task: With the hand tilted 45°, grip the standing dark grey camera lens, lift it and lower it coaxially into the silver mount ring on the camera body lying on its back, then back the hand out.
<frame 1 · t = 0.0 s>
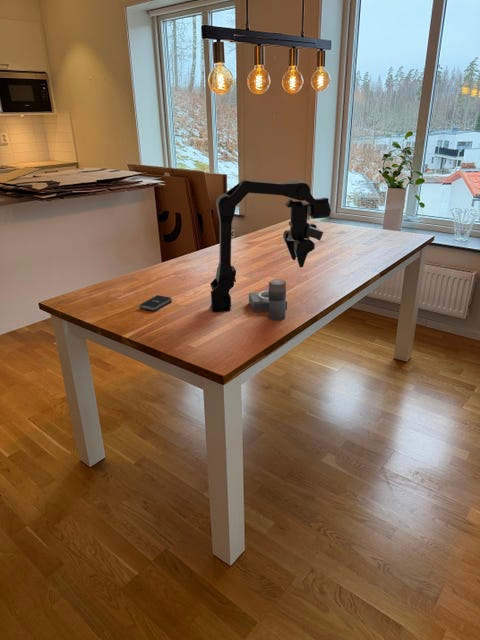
hand: (297, 263, 158), 15 cm above the table, tool pointing down, fingers open, 9 cm apart
camera body: (267, 306, 161), on the table
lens: (277, 317, 152), on the table
external hard drive: (156, 306, 164), on the table
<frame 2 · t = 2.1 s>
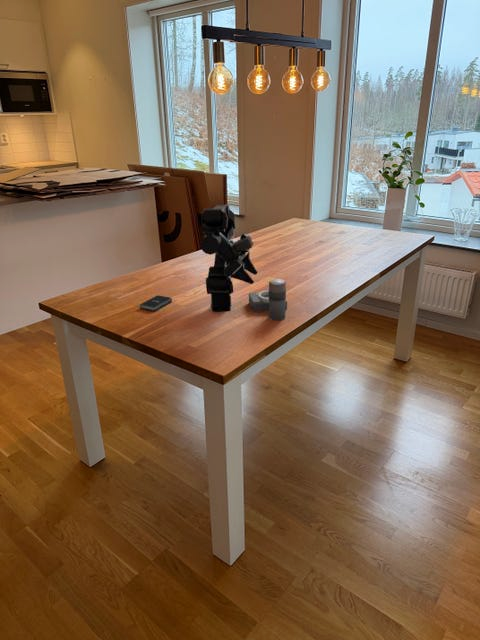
hand: (254, 278, 148), 14 cm above the table, tool tilted 45°, fingers open, 9 cm apart
nothing on the table moved.
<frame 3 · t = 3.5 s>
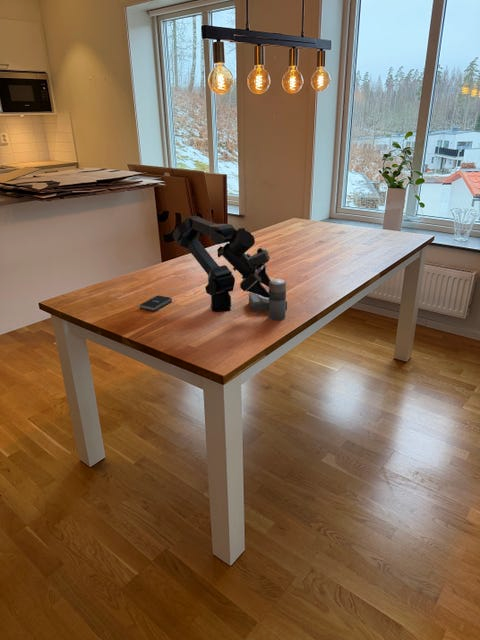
hand: (271, 292, 148), 9 cm above the table, tool tilted 45°, fingers open, 9 cm apart
nothing on the table moved.
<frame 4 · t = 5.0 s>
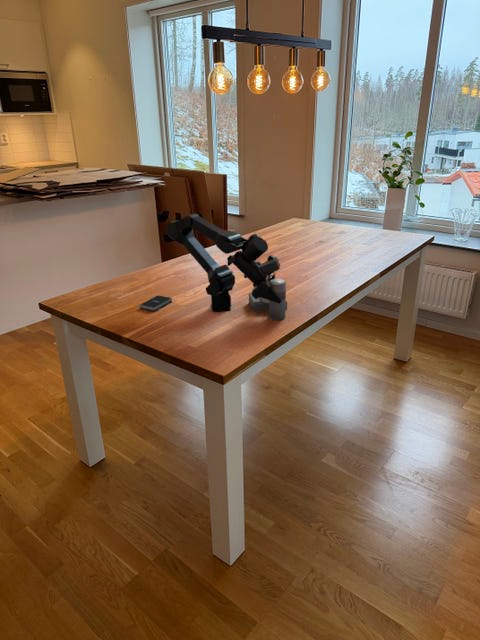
hand: (281, 299, 149), 7 cm above the table, tool tilted 45°, fingers closed on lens, 6 cm apart
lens: (277, 316, 152), on the table, touching gripper
everything else where it was.
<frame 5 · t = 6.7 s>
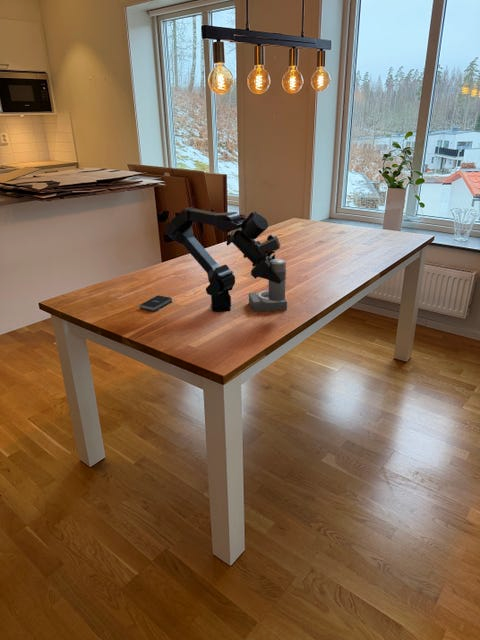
hand: (281, 279, 146), 13 cm above the table, tool tilted 45°, fingers closed on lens, 6 cm apart
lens: (276, 298, 149), point 7 cm above the table, touching gripper
everything else where it was.
when the fingers open (10 cm above the table, at t = 8.7 s): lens stays where it is, resting on camera body.
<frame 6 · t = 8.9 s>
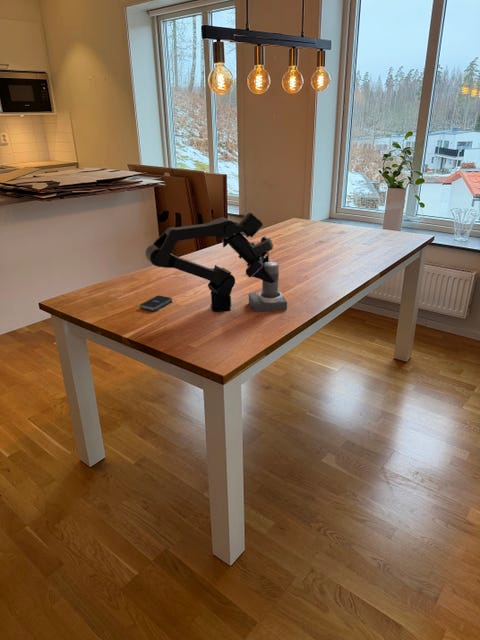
hand: (274, 278, 156), 11 cm above the table, tool tilted 45°, fingers open, 8 cm apart
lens: (269, 298, 160), point 3 cm above the table, touching camera body
everything else where it was.
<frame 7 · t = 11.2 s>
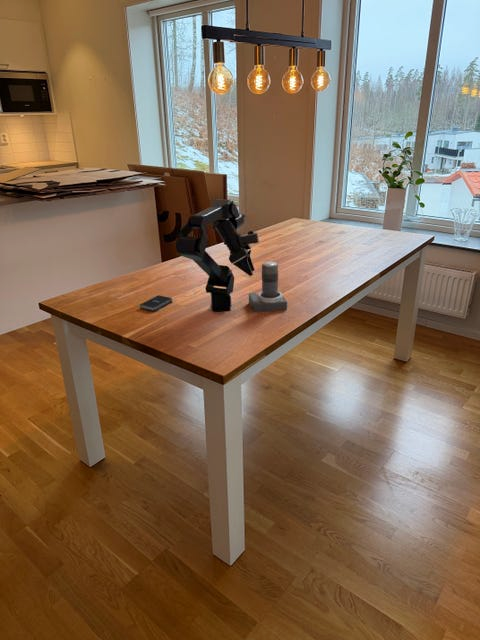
hand: (252, 273, 157), 12 cm above the table, tool tilted 30°, fingers open, 9 cm apart
nothing on the table moved.
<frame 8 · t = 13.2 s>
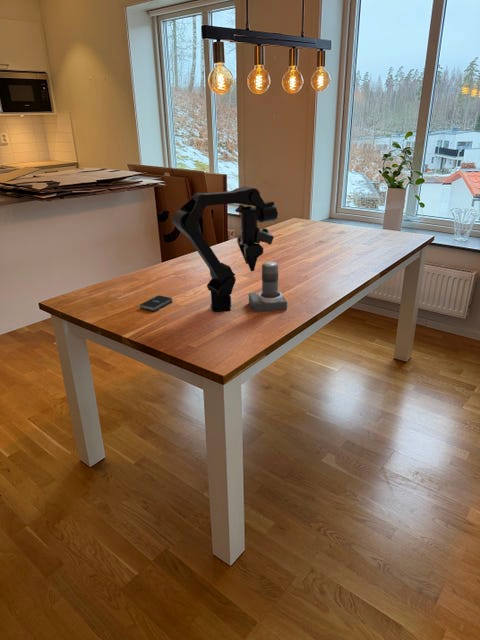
hand: (249, 267, 161), 13 cm above the table, tool pointing down, fingers open, 9 cm apart
nothing on the table moved.
at the end: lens 0.1 cm from the target spot on the camera body, point 3.0 cm above the camera body's base; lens tilted 0°; the gripper is holding nothing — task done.
